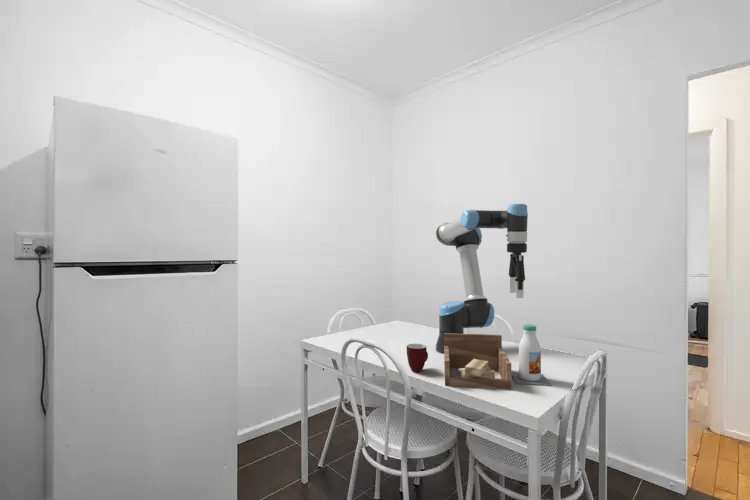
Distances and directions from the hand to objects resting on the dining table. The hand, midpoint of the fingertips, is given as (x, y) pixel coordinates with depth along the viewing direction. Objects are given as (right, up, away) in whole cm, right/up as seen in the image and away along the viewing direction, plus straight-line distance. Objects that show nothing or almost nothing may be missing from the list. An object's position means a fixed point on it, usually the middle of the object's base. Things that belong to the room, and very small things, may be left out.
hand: (516, 295), depth 151 cm
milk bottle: (+2, -30, -10) cm, 32 cm away
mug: (-39, -31, +2) cm, 50 cm away
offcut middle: (-19, -29, -11) cm, 36 cm away
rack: (-18, -31, -7) cm, 36 cm away
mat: (+2, -31, -10) cm, 32 cm away
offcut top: (-19, -26, -12) cm, 35 cm away
